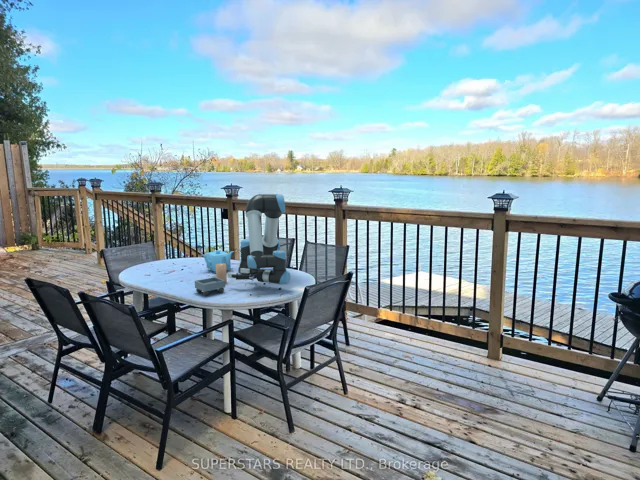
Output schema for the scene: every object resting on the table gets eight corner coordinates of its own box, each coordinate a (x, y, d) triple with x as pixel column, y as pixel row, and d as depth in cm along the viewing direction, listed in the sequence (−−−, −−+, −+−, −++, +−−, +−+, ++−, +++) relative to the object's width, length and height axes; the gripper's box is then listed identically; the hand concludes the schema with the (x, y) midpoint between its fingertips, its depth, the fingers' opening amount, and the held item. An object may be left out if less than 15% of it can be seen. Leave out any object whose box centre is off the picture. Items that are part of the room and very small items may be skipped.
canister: (223, 281, 251) (222, 262, 249) (228, 283, 247) (228, 264, 245) (214, 282, 247) (213, 264, 245) (219, 285, 242) (219, 265, 240)
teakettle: (211, 267, 288) (210, 247, 285) (236, 268, 285) (235, 248, 283) (200, 273, 269) (199, 252, 267) (226, 275, 267) (226, 253, 264)
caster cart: (215, 288, 235) (215, 276, 234) (225, 292, 227) (225, 280, 226) (195, 292, 226) (194, 280, 224) (204, 297, 218) (204, 284, 217)
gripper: (254, 287, 223) (222, 283, 231) (275, 277, 246) (245, 274, 254) (253, 274, 222) (222, 270, 230) (275, 265, 245) (245, 262, 253)
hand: (234, 272), depth 242 cm, fingers open, 13 cm apart
